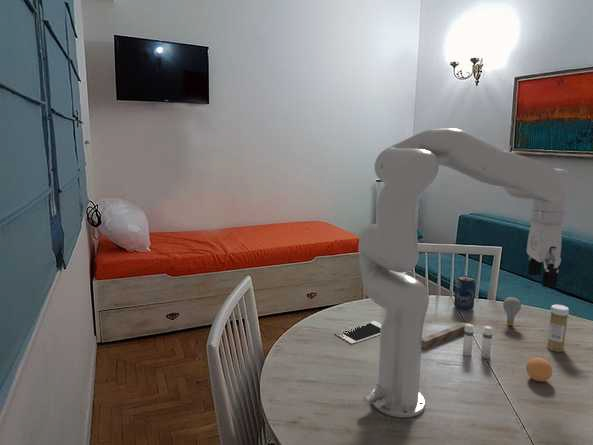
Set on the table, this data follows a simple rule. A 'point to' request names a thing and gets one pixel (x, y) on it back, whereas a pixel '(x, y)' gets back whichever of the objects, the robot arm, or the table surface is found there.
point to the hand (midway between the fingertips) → (541, 280)
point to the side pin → (468, 339)
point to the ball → (539, 369)
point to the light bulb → (511, 309)
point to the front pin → (486, 342)
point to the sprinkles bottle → (557, 328)
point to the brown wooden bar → (443, 336)
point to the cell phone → (363, 332)
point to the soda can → (464, 293)
